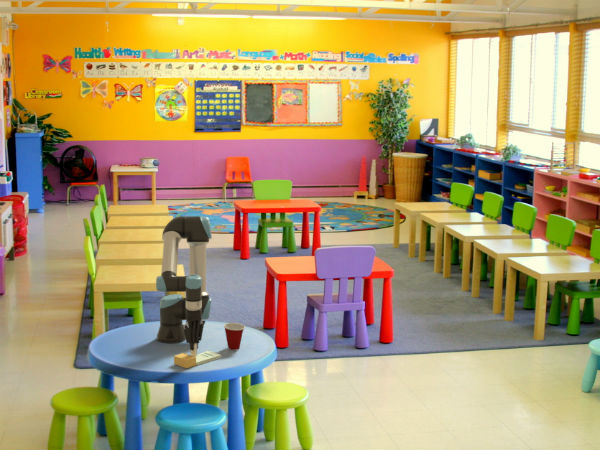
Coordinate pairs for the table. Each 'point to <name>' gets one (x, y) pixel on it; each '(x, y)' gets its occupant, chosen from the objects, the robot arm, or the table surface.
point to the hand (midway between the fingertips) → (194, 356)
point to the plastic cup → (234, 335)
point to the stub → (184, 360)
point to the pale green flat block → (206, 357)
